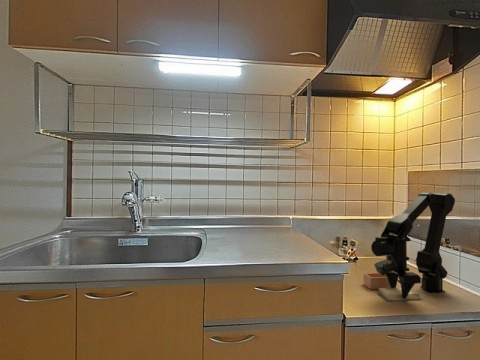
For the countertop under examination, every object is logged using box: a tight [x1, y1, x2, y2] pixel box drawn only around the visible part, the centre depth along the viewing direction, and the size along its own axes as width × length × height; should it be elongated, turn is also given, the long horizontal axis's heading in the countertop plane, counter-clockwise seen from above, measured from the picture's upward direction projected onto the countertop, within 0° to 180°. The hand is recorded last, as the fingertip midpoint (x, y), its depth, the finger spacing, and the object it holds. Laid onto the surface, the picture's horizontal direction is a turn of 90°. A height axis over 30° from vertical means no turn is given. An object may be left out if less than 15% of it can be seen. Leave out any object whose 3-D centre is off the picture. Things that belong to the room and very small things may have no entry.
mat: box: [374, 291, 424, 303], centre depth 119 cm, size 14×9×1 cm, turn 94°
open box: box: [363, 272, 391, 290], centre depth 130 cm, size 10×6×5 cm, turn 94°
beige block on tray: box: [378, 286, 421, 300], centre depth 119 cm, size 12×7×2 cm, turn 94°
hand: (398, 294), depth 119 cm, fingers closed on beige block on tray, 7 cm apart
